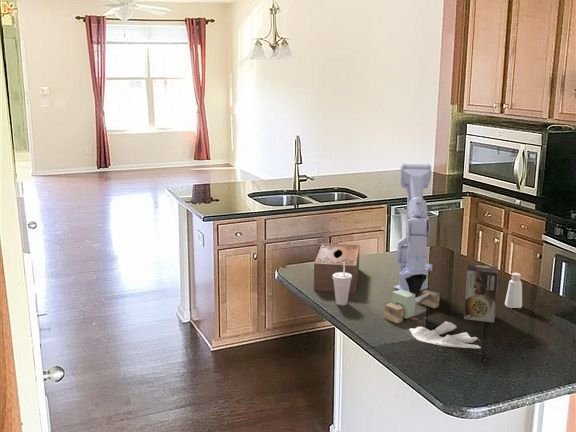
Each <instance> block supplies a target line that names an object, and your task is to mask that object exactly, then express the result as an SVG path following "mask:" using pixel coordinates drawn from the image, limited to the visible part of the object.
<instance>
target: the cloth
mask: <svg viewBox="0 0 576 432" xmlns="http://www.w3.org/2000/svg"><path fill="white" fill-rule="evenodd" d="M456 329H458V326H457V325H455V324H454V323H452V322H450V321H446V320H445V321H444V322H443V323H441V324H440V325H438V326H437V327H436V328H435V329H432V330H430V329H428V328H427V327H425V326H421V325H420V326H416V327H415V328H411V327H410V328H409V332H410V333H411V335H412V336H413V338H414V339H416V340H417V341H419V342H424V343H427V344H433V345H437V346H442V347H449V348H451V347H452V348H462V349H481V348H482V347H481V346H480V345H478V344H474V342H481V340H480V338H478V337H476V336H472V337H471V335H470V334H469V333H468V332H461V333H457V334H451V335H450V334H446V333H448V332H451V331H454V330H456ZM444 334H446V335H445V336H440V335H444ZM471 343H473V344H471Z"/></svg>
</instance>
